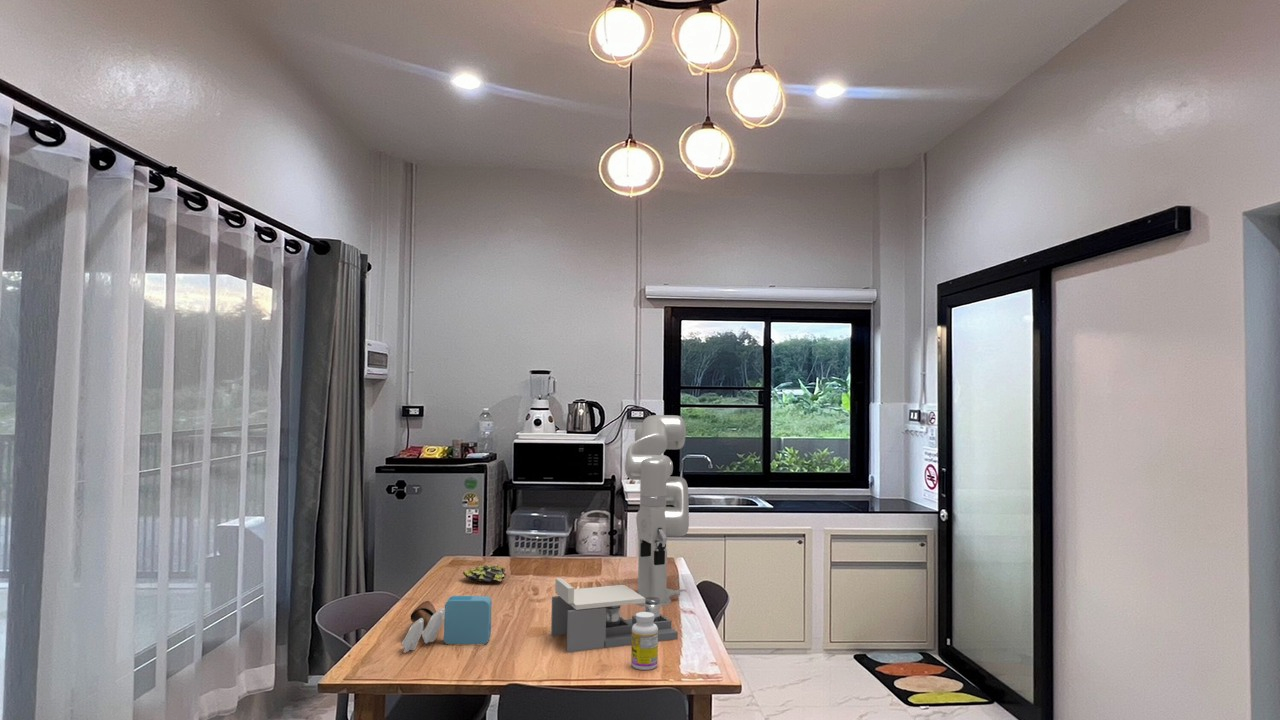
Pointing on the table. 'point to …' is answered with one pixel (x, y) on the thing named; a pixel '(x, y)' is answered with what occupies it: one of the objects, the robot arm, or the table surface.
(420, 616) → the sunglasses case
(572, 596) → the lid
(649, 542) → the robot arm
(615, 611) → the glass spice jar
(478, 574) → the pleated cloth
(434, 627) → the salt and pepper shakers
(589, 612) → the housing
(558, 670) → the table surface
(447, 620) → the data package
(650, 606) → the silver metal shaker
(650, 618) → the supplement bottle
